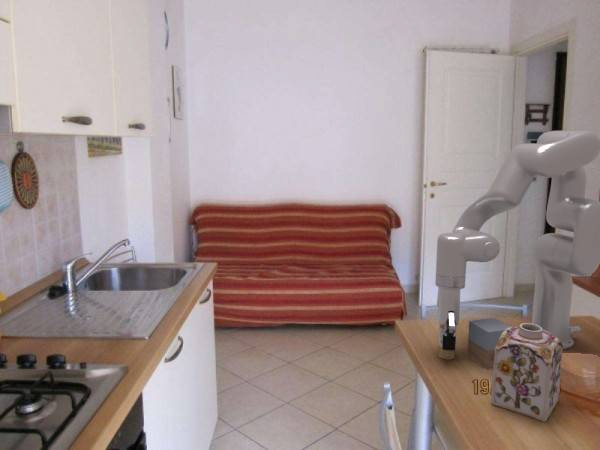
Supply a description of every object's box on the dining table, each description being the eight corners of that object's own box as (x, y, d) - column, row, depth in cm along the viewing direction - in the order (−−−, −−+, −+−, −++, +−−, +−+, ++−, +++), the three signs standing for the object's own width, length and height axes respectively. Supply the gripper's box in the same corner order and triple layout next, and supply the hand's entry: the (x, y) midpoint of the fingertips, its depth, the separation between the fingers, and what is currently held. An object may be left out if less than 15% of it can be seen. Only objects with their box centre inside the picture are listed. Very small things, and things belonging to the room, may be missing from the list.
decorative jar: (506, 384, 119) (511, 313, 116) (559, 400, 112) (566, 325, 109) (489, 405, 110) (494, 328, 107) (545, 424, 103) (553, 342, 100)
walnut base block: (492, 351, 137) (493, 334, 136) (512, 364, 130) (513, 346, 129) (467, 355, 135) (468, 338, 134) (486, 368, 127) (487, 350, 126)
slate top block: (492, 335, 136) (494, 317, 135) (513, 346, 129) (514, 328, 128) (468, 338, 134) (469, 321, 133) (487, 350, 126) (488, 332, 125)
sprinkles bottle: (458, 357, 133) (461, 310, 131) (447, 361, 131) (449, 313, 129) (445, 351, 137) (447, 305, 135) (433, 355, 135) (436, 308, 132)
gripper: (432, 270, 139) (430, 330, 142) (438, 289, 122) (435, 356, 126) (460, 271, 138) (457, 331, 141) (470, 291, 121) (466, 358, 124)
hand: (446, 343), depth 133 cm, fingers open, 7 cm apart
